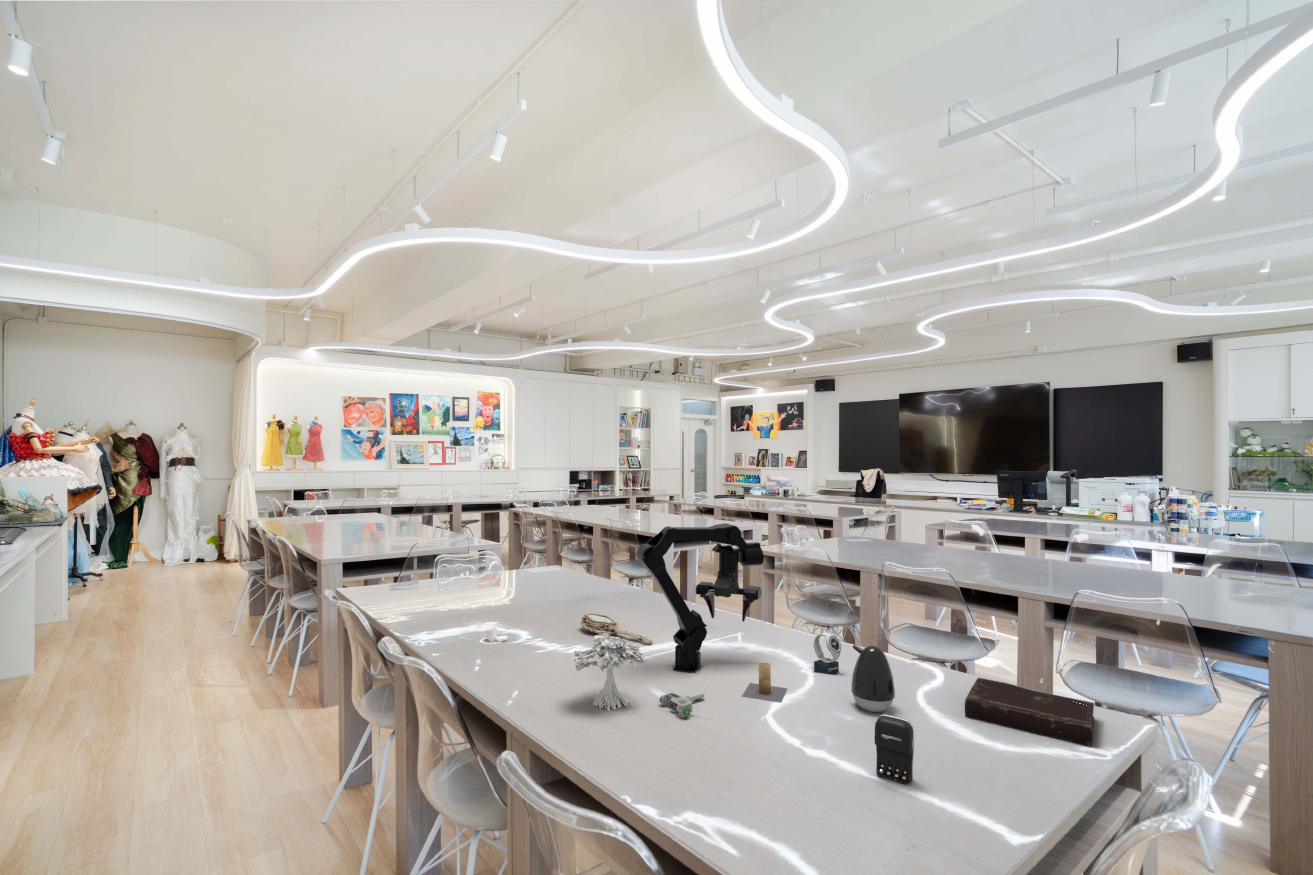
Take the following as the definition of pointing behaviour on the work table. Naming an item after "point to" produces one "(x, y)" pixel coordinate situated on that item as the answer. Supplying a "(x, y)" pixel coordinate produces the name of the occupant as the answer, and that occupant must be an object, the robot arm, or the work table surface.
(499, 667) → the work table surface
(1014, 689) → the diary
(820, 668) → the watch
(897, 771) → the battery charger
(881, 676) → the pump dispenser
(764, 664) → the dowel
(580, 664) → the tree
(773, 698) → the mat
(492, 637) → the teacup and saucer
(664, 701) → the mechanical component
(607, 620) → the hand mirror
